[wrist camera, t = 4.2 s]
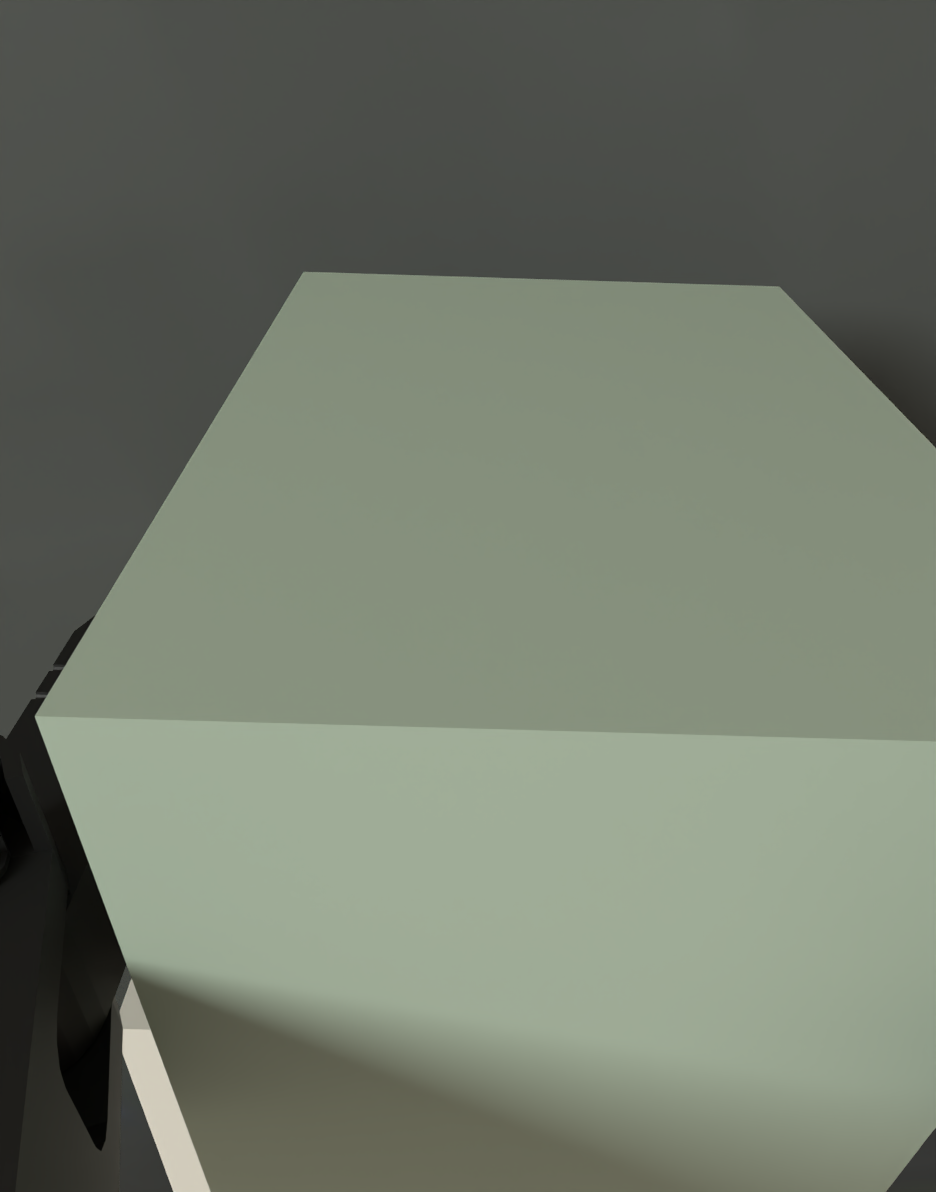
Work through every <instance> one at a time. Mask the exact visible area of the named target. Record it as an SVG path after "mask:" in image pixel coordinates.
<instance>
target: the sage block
mask: <svg viewBox="0 0 936 1192" xmlns="http://www.w3.org/2000/svg"><path fill="white" fill-rule="evenodd" d="M35 719H36V721H37V724H38V727H39V729H40V732H41V735H42V737H43V740H44V743H45V746H46V748H47V751H48V754H49V756H50V759H51V762H52V765H53V767H54V770H55V773H56V775H57V778H58V781H59V783H60V786H61V789H62V792H63V794H64V797H65V800H66V802H67V805H68V808H69V810H70V813H71V816H72V819H73V821H74V824H75V827H76V829H77V832H78V835H79V837H80V840H81V843H82V846H83V848H84V851H85V854H86V856H87V859H88V862H89V865H90V867H91V870H92V873H93V875H94V878H95V881H96V883H97V886H98V889H99V892H100V894H101V897H102V900H103V902H104V905H105V908H106V910H107V913H108V916H109V919H110V921H111V924H112V927H113V929H114V932H115V935H116V937H117V940H118V943H119V946H120V948H121V951H122V954H123V956H124V959H125V962H126V965H127V967H128V970H129V973H130V975H131V978H132V981H133V983H134V986H135V989H136V992H137V994H138V997H139V1000H140V1002H141V1005H142V1008H143V1010H144V1013H145V1016H146V1019H147V1021H148V1024H149V1027H150V1029H151V1032H152V1035H153V1037H154V1040H155V1043H156V1046H157V1048H158V1051H159V1054H160V1056H161V1059H162V1062H163V1064H164V1067H165V1070H166V1073H167V1075H168V1078H169V1081H170V1083H171V1086H172V1089H173V1092H174V1094H175V1097H176V1100H177V1102H178V1105H179V1108H180V1110H181V1113H182V1116H183V1119H184V1121H185V1124H186V1127H187V1129H188V1132H189V1135H190V1137H191V1140H192V1143H193V1146H194V1148H195V1151H196V1154H197V1156H198V1159H199V1162H200V1164H201V1167H202V1170H203V1173H204V1175H205V1178H206V1181H207V1183H208V1186H209V1189H210V1192H886V1191H887V1189H888V1188H889V1187H890V1186H891V1184H892V1183H893V1182H894V1180H895V1179H896V1178H897V1177H898V1175H899V1174H900V1173H901V1171H902V1170H903V1169H904V1168H905V1166H906V1165H907V1164H908V1162H909V1161H910V1160H911V1158H912V1157H913V1156H914V1155H915V1153H916V1152H917V1151H918V1149H919V1148H920V1147H921V1146H922V1144H923V1143H924V1142H925V1140H926V1139H927V1138H928V1137H929V1135H930V1134H931V1133H932V1131H933V1130H934V1129H935V1128H936V448H935V447H934V446H933V445H932V444H931V443H930V442H929V440H928V439H927V438H926V437H925V436H924V435H923V434H922V433H921V432H920V431H919V430H918V429H917V428H916V427H915V426H914V425H913V424H912V423H911V422H910V421H909V420H908V419H907V418H906V417H905V416H904V415H903V414H902V413H901V412H900V411H899V410H898V409H897V408H896V407H895V405H894V404H893V403H892V402H891V401H890V400H889V399H888V398H887V397H886V396H885V395H884V394H883V393H882V392H881V391H880V390H879V389H878V388H877V387H876V386H875V385H874V384H873V383H872V382H871V381H870V380H869V379H868V378H867V377H866V376H865V375H864V374H863V373H862V371H861V370H860V369H859V368H858V367H857V366H856V365H855V364H854V363H853V362H852V361H851V360H850V359H849V358H848V357H847V356H846V355H845V354H844V353H843V352H842V351H841V350H840V349H839V348H838V347H837V346H836V345H835V344H834V343H833V342H832V341H831V340H830V339H829V337H828V336H827V335H826V334H825V333H824V332H823V331H822V330H821V329H820V328H819V327H818V326H817V325H816V324H815V323H814V322H813V321H812V320H811V319H810V318H809V317H808V316H807V315H806V314H805V313H804V312H803V311H802V310H801V309H800V308H799V307H798V306H797V305H796V303H795V302H794V301H793V300H792V299H791V298H790V297H789V296H788V295H787V294H786V293H785V292H784V291H783V290H782V289H781V288H780V287H773V286H741V285H709V284H677V283H645V282H613V281H581V280H549V279H517V278H485V277H452V276H420V275H388V274H356V273H324V272H303V274H302V275H301V277H300V279H299V280H298V282H297V284H296V285H295V287H294V289H293V290H292V292H291V293H290V295H289V297H288V298H287V300H286V302H285V303H284V305H283V307H282V308H281V310H280V312H279V313H278V315H277V317H276V318H275V320H274V322H273V323H272V325H271V327H270V328H269V330H268V331H267V333H266V335H265V336H264V338H263V340H262V341H261V343H260V345H259V346H258V348H257V350H256V351H255V353H254V355H253V356H252V358H251V360H250V361H249V363H248V365H247V366H246V368H245V369H244V371H243V373H242V374H241V376H240V378H239V379H238V381H237V383H236V384H235V386H234V388H233V389H232V391H231V393H230V394H229V396H228V398H227V399H226V401H225V403H224V404H223V406H222V408H221V409H220V411H219V412H218V414H217V416H216V417H215V419H214V421H213V422H212V424H211V426H210V427H209V429H208V431H207V432H206V434H205V436H204V437H203V439H202V441H201V442H200V444H199V446H198V447H197V449H196V450H195V452H194V454H193V455H192V457H191V459H190V460H189V462H188V464H187V465H186V467H185V469H184V470H183V472H182V474H181V475H180V477H179V479H178V480H177V482H176V484H175V485H174V487H173V488H172V490H171V492H170V493H169V495H168V497H167V498H166V500H165V502H164V503H163V505H162V507H161V508H160V510H159V512H158V513H157V515H156V517H155V518H154V520H153V522H152V523H151V525H150V526H149V528H148V530H147V531H146V533H145V535H144V536H143V538H142V540H141V541H140V543H139V545H138V546H137V548H136V550H135V551H134V553H133V555H132V556H131V558H130V560H129V561H128V563H127V565H126V566H125V568H124V569H123V571H122V573H121V574H120V576H119V578H118V579H117V581H116V583H115V584H114V586H113V588H112V589H111V591H110V593H109V594H108V596H107V598H106V599H105V601H104V603H103V604H102V606H101V607H100V609H99V611H98V612H97V614H96V616H95V617H94V619H93V621H92V622H91V624H90V626H89V627H88V629H87V631H86V632H85V634H84V636H83V637H82V639H81V641H80V642H79V644H78V645H77V647H76V649H75V650H74V652H73V654H72V655H71V657H70V659H69V660H68V662H67V664H66V665H65V667H64V669H63V670H62V672H61V674H60V675H59V677H58V679H57V680H56V682H55V684H54V685H53V687H52V688H51V690H50V692H49V693H48V695H47V697H46V698H45V700H44V702H43V703H42V705H41V707H40V708H39V710H38V712H37V713H36V715H35Z"/></svg>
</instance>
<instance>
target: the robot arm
mask: <svg viewBox="0 0 936 1192" xmlns="http://www.w3.org/2000/svg"><path fill="white" fill-rule="evenodd" d="M95 616H96V615H95ZM95 616H94V617H95ZM94 617H93V618H91V619H90V620H89V621H87V622H86V623H85V624H83V625H82V626H81V627H79V628H78V629H77V630H75V631H74V633H73V634H72V636H71V637H70V639H69V641H68V642H67V644H66V645H65V647H64V648H63V650H62V652H61V653H60V655H59V656H58V658H57V660H56V661H55V663H54V664H53V665H54V669H53V671H49V672H48V674H47V675H46V677H45V679H44V680H43V682H42V683H41V685H40V686H39V688H38V690H37V691H36V699H31V701H30V702H29V704H28V705H27V707H26V709H25V710H24V712H23V713H22V715H21V717H20V718H19V720H18V721H17V723H16V725H15V726H14V728H13V729H12V731H11V732H10V734H9V736H8V737H7V739H5V738H4V737H3V736H1V735H0V1192H119V1172H120V1129H121V1086H122V1043H123V1026H122V1021H121V1017H120V1012H119V1007H118V1003H117V1001H116V998H115V994H116V991H117V988H118V986H119V983H120V980H121V977H122V975H123V972H124V969H125V966H126V962H125V959H124V956H123V954H122V951H121V948H120V946H119V943H118V940H117V937H116V935H115V932H114V929H113V927H112V924H111V921H110V919H109V916H108V913H107V910H106V908H105V905H104V902H103V900H102V897H101V894H100V892H99V889H98V886H97V883H96V881H95V878H94V875H93V873H92V870H91V867H90V865H89V862H88V859H87V856H86V854H85V851H84V848H83V846H82V843H81V840H80V837H79V835H78V832H77V829H76V827H75V824H74V821H73V819H72V816H71V813H70V810H69V808H68V805H67V802H66V800H65V797H64V794H63V792H62V789H61V786H60V783H59V781H58V778H57V775H56V773H55V770H54V767H53V765H52V762H51V759H50V756H49V754H48V751H47V748H46V746H45V743H44V740H43V737H42V735H41V732H40V729H39V727H38V724H37V721H36V719H35V715H36V713H37V712H38V710H39V708H40V707H41V705H42V703H43V702H44V700H45V698H46V697H47V695H48V693H49V692H50V690H51V688H52V687H53V685H54V684H55V682H56V680H57V679H58V677H59V675H60V674H61V672H62V670H63V669H64V667H65V665H66V664H67V662H68V660H69V659H70V657H71V655H72V654H73V652H74V650H75V649H76V647H77V645H78V644H79V642H80V641H81V639H82V637H83V636H84V634H85V632H86V631H87V629H88V627H89V626H90V624H91V622H92V621H93V619H94Z"/></svg>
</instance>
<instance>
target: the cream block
mask: <svg viewBox="0 0 936 1192" xmlns="http://www.w3.org/2000/svg"><path fill="white" fill-rule="evenodd" d="M120 1017H121V1021H122V1026H123V1043H122V1053H123V1056H124V1059H125V1062H126V1064H127V1067H128V1070H129V1072H130V1075H131V1078H132V1081H133V1083H134V1086H135V1089H136V1091H137V1094H138V1097H139V1099H140V1102H141V1105H142V1108H143V1110H144V1113H145V1116H146V1118H147V1121H148V1124H149V1127H150V1129H151V1132H152V1135H153V1137H154V1140H155V1143H156V1146H157V1148H158V1151H159V1154H160V1156H161V1159H162V1162H163V1165H164V1167H165V1170H166V1173H167V1175H168V1178H169V1181H170V1184H171V1186H172V1189H173V1192H210V1189H209V1186H208V1183H207V1181H206V1178H205V1175H204V1173H203V1170H202V1167H201V1164H200V1162H199V1159H198V1156H197V1154H196V1151H195V1148H194V1146H193V1143H192V1140H191V1137H190V1135H189V1132H188V1129H187V1127H186V1124H185V1121H184V1119H183V1116H182V1113H181V1110H180V1108H179V1105H178V1102H177V1100H176V1097H175V1094H174V1092H173V1089H172V1086H171V1083H170V1081H169V1078H168V1075H167V1073H166V1070H165V1067H164V1064H163V1062H162V1059H161V1056H160V1054H159V1051H158V1048H157V1046H156V1043H155V1040H154V1037H153V1035H152V1032H151V1029H150V1027H149V1024H148V1021H147V1019H146V1016H145V1013H144V1010H143V1008H142V1005H141V1002H140V1000H139V997H138V994H137V992H136V989H135V986H134V983H133V981H132V978H131V981H130V984H129V987H128V990H127V992H126V995H125V998H124V1001H123V1004H122V1006H121V1009H120Z"/></svg>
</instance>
